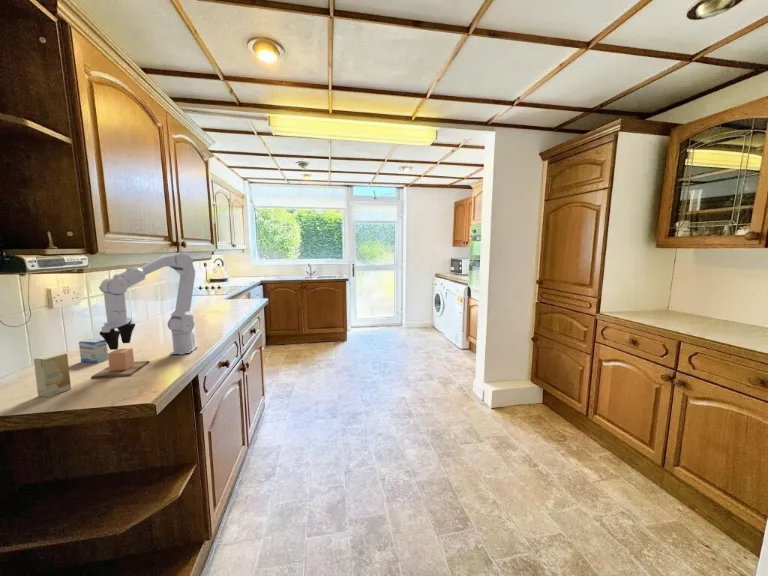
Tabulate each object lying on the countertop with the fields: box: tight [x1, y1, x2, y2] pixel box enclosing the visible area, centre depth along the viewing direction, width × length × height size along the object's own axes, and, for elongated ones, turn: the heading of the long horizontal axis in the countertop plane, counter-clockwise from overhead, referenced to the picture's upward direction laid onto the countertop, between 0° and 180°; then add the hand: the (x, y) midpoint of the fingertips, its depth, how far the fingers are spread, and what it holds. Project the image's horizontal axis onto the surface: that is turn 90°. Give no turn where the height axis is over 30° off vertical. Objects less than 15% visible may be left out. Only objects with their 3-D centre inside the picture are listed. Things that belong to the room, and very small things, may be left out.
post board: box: [90, 360, 150, 380], centre depth 115 cm, size 13×12×7 cm
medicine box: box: [78, 338, 109, 364], centre depth 124 cm, size 8×4×9 cm, turn 84°
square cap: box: [107, 347, 135, 371], centre depth 114 cm, size 5×5×7 cm
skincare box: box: [33, 352, 72, 398], centre depth 97 cm, size 6×4×12 cm
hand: (120, 346), depth 114 cm, fingers open, 7 cm apart
